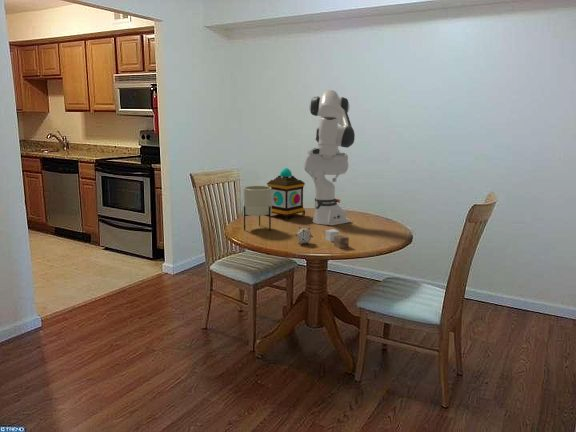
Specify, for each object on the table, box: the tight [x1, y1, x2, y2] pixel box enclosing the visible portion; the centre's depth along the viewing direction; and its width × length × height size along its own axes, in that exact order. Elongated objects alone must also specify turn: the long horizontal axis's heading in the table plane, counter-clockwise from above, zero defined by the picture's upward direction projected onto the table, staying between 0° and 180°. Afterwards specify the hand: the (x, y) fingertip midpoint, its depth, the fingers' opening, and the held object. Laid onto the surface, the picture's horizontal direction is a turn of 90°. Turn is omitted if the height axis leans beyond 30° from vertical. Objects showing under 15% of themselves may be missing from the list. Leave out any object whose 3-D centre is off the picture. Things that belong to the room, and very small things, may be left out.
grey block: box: [325, 228, 340, 243], centre depth 235 cm, size 5×5×5 cm
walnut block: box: [333, 234, 350, 249], centre depth 223 cm, size 5×5×5 cm
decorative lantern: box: [266, 167, 306, 221], centre depth 286 cm, size 20×20×30 cm
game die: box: [294, 226, 314, 245], centre depth 228 cm, size 9×8×10 cm
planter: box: [243, 185, 273, 232], centre depth 255 cm, size 15×16×23 cm
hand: (324, 181), depth 218 cm, fingers open, 8 cm apart
